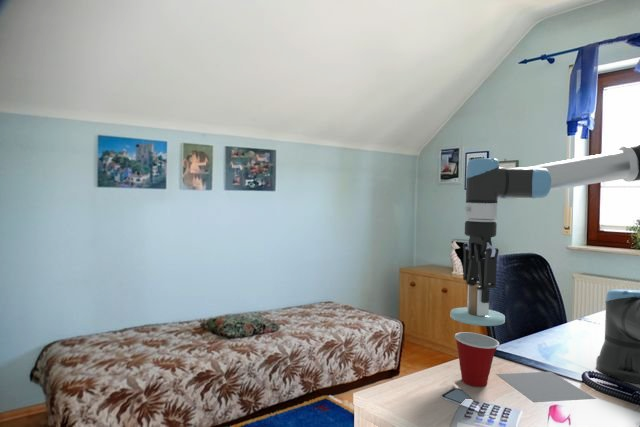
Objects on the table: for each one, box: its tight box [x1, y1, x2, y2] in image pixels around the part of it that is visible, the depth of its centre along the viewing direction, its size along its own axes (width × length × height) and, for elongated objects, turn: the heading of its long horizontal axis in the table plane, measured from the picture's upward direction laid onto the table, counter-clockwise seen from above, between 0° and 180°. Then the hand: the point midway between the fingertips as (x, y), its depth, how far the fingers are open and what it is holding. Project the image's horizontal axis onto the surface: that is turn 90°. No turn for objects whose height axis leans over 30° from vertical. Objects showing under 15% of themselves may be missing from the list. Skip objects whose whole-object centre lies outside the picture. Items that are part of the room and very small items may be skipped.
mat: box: [495, 371, 597, 403], centre depth 111 cm, size 16×16×1 cm
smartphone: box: [440, 387, 473, 406], centre depth 102 cm, size 7×1×15 cm
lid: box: [449, 284, 506, 327], centre depth 112 cm, size 13×13×8 cm
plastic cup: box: [454, 331, 500, 388], centre depth 112 cm, size 11×11×12 cm
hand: (477, 312), depth 112 cm, fingers closed on lid, 4 cm apart
